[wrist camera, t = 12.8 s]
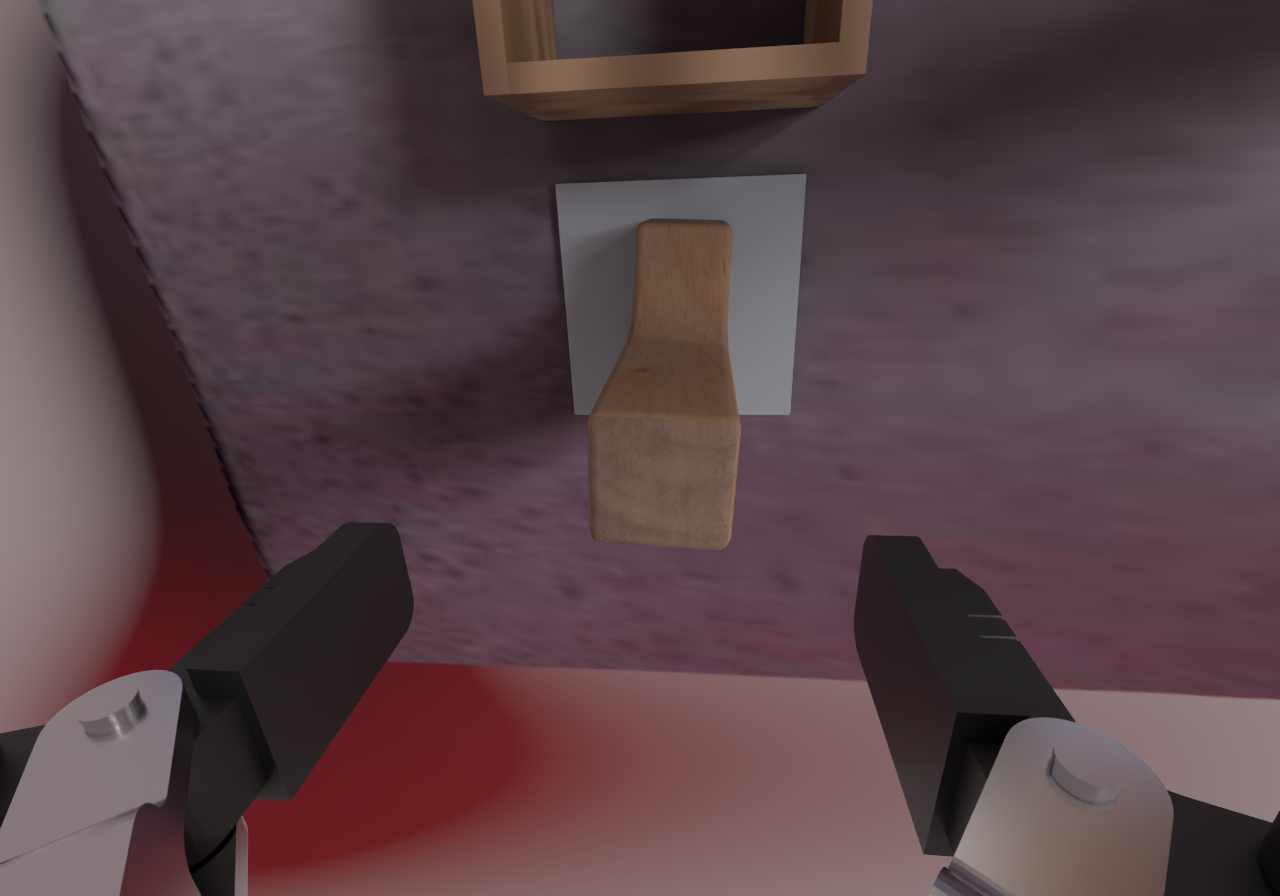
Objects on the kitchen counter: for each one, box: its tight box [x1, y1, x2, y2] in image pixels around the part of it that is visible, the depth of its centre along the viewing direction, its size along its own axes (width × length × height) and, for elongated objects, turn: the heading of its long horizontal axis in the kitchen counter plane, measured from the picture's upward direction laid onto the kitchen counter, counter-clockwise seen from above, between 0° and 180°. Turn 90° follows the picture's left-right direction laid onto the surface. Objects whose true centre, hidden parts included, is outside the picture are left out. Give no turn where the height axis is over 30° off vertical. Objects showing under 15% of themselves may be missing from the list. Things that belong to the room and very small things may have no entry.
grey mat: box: [555, 174, 807, 415], centre depth 33 cm, size 13×13×1 cm
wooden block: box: [587, 218, 741, 550], centre depth 25 cm, size 9×4×18 cm, turn 179°
